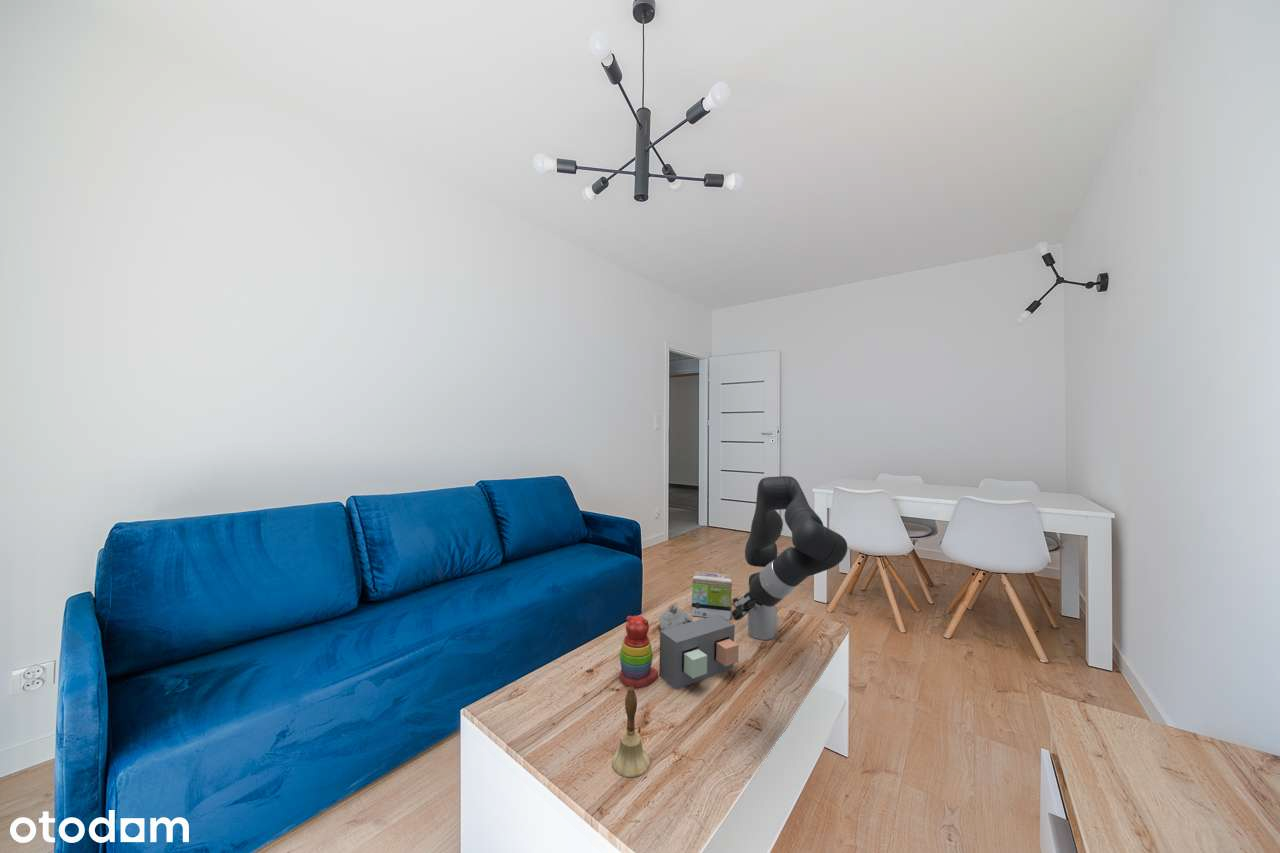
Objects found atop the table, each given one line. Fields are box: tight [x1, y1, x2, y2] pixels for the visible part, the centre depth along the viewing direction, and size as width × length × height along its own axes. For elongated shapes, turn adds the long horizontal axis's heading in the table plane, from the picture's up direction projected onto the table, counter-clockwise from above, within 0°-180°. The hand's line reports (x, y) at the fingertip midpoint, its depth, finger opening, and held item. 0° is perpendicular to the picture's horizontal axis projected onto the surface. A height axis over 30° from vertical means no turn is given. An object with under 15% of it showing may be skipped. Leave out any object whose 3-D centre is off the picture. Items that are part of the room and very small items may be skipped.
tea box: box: [691, 570, 733, 621], centre depth 170 cm, size 15×10×15 cm, turn 81°
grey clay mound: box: [658, 604, 693, 631], centre depth 155 cm, size 12×12×11 cm
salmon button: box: [716, 639, 740, 666], centre depth 127 cm, size 5×4×5 cm
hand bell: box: [611, 686, 651, 778], centre depth 93 cm, size 8×8×16 cm
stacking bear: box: [619, 615, 659, 688], centre depth 125 cm, size 11×10×18 cm
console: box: [658, 615, 736, 690], centre depth 129 cm, size 22×8×13 cm, turn 122°
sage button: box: [684, 649, 707, 678], centre depth 120 cm, size 5×4×5 cm
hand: (735, 616), depth 110 cm, fingers closed
